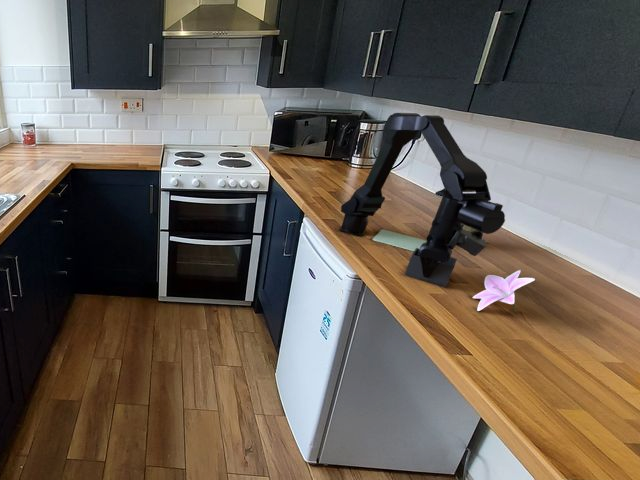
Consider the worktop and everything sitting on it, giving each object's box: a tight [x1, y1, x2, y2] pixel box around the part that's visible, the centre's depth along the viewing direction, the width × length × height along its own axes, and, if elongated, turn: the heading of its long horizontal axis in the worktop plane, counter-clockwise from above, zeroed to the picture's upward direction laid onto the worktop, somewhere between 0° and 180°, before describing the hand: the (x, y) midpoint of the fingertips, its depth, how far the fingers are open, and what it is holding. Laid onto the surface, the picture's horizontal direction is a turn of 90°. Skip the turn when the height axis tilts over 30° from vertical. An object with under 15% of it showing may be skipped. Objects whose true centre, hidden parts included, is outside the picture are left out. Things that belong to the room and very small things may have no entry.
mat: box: [372, 228, 427, 252], centre depth 127 cm, size 16×12×1 cm
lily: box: [472, 269, 536, 313], centre depth 92 cm, size 12×12×10 cm
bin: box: [404, 248, 458, 288], centre depth 105 cm, size 9×6×6 cm
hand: (428, 273), depth 106 cm, fingers closed on bin, 6 cm apart
